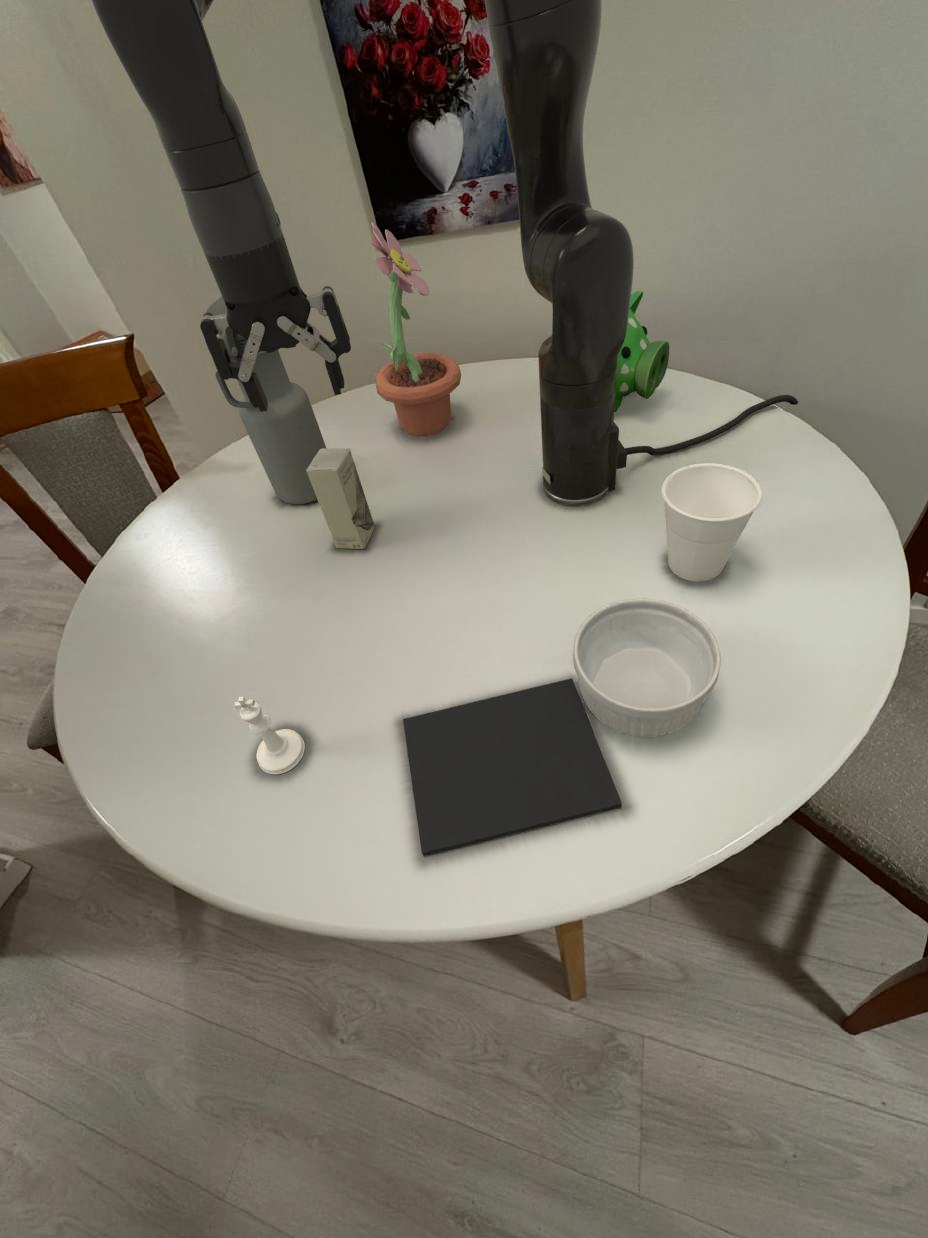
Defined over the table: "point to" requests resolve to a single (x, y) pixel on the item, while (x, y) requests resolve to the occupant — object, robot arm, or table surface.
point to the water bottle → (276, 420)
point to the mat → (505, 767)
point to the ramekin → (645, 665)
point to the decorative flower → (417, 377)
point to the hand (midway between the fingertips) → (301, 399)
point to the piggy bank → (639, 359)
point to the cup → (706, 516)
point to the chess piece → (271, 740)
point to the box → (341, 497)
